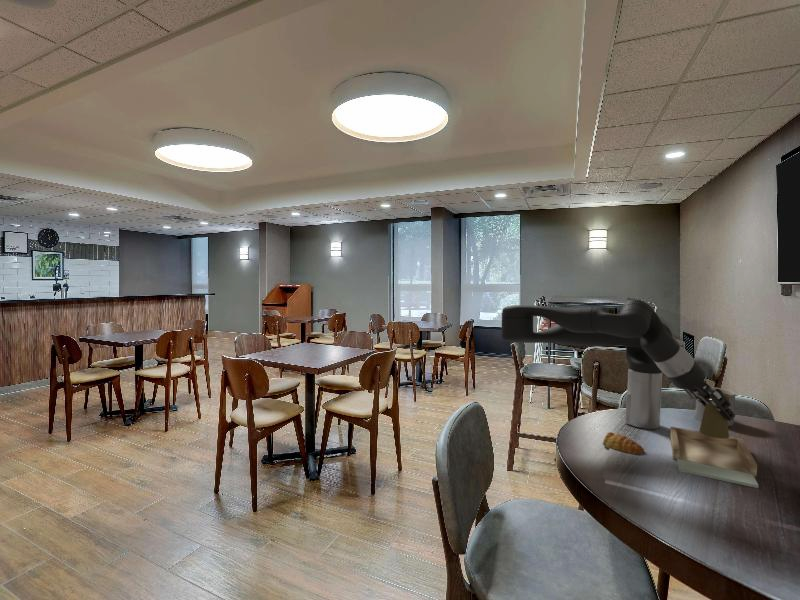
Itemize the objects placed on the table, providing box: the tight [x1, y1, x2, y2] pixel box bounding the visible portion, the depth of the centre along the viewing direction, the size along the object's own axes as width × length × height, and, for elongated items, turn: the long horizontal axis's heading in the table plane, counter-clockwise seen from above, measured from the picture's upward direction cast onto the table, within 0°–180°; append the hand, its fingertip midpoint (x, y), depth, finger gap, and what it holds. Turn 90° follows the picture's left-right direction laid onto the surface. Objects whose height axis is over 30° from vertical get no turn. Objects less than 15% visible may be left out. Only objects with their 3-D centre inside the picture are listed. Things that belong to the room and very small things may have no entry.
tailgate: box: [676, 459, 759, 489], centre depth 95 cm, size 14×1×6 cm
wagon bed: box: [669, 426, 758, 478], centre depth 106 cm, size 16×18×4 cm
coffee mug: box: [694, 386, 736, 427], centre depth 135 cm, size 13×10×10 cm
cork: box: [698, 392, 730, 439], centre depth 103 cm, size 6×6×11 cm
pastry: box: [602, 431, 645, 455], centre depth 109 cm, size 9×7×4 cm
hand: (722, 414), depth 103 cm, fingers closed on cork, 5 cm apart
